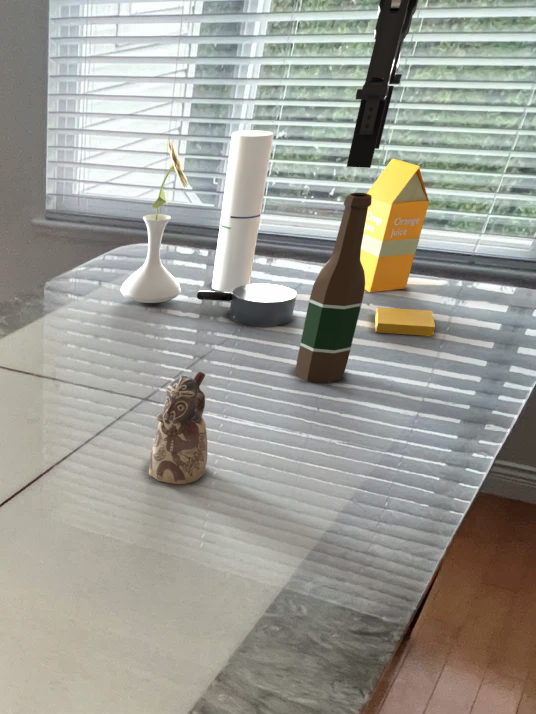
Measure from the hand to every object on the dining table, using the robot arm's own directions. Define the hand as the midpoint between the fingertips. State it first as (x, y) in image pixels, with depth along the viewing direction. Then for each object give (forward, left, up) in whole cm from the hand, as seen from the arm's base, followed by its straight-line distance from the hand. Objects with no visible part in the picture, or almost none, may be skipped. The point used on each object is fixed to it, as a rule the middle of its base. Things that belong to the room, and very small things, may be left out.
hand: (363, 157), depth 105 cm
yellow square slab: (+23, -29, -29) cm, 47 cm away
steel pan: (+36, -5, -29) cm, 47 cm away
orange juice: (+46, -38, -30) cm, 66 cm away
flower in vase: (+51, +6, -30) cm, 59 cm away
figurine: (-19, +28, -30) cm, 45 cm away
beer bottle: (+6, -5, -30) cm, 30 cm away
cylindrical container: (+53, -11, -30) cm, 62 cm away
